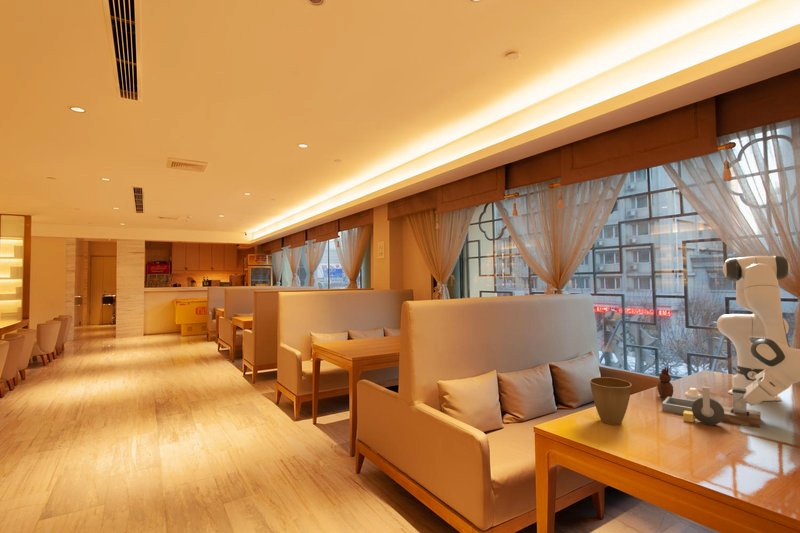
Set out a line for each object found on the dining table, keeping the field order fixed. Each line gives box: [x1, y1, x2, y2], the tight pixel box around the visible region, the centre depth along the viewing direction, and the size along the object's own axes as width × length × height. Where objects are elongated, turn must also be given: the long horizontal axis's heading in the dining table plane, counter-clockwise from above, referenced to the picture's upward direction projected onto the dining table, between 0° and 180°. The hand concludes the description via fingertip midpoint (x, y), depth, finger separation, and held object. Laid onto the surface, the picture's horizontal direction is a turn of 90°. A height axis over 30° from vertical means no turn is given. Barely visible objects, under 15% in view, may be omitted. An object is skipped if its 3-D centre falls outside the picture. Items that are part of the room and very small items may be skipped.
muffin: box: [684, 387, 702, 401], centre depth 184 cm, size 6×6×7 cm
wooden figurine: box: [657, 366, 674, 399], centre depth 193 cm, size 7×6×15 cm
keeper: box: [721, 405, 762, 428], centre depth 162 cm, size 12×12×3 cm
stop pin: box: [731, 386, 748, 415], centre depth 162 cm, size 4×4×12 cm
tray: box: [661, 396, 695, 415], centre depth 175 cm, size 13×13×3 cm
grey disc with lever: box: [682, 386, 724, 426], centre depth 159 cm, size 7×13×15 cm, turn 47°
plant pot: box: [589, 376, 632, 426], centre depth 162 cm, size 15×15×16 cm
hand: (737, 403), depth 162 cm, fingers closed on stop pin, 4 cm apart
